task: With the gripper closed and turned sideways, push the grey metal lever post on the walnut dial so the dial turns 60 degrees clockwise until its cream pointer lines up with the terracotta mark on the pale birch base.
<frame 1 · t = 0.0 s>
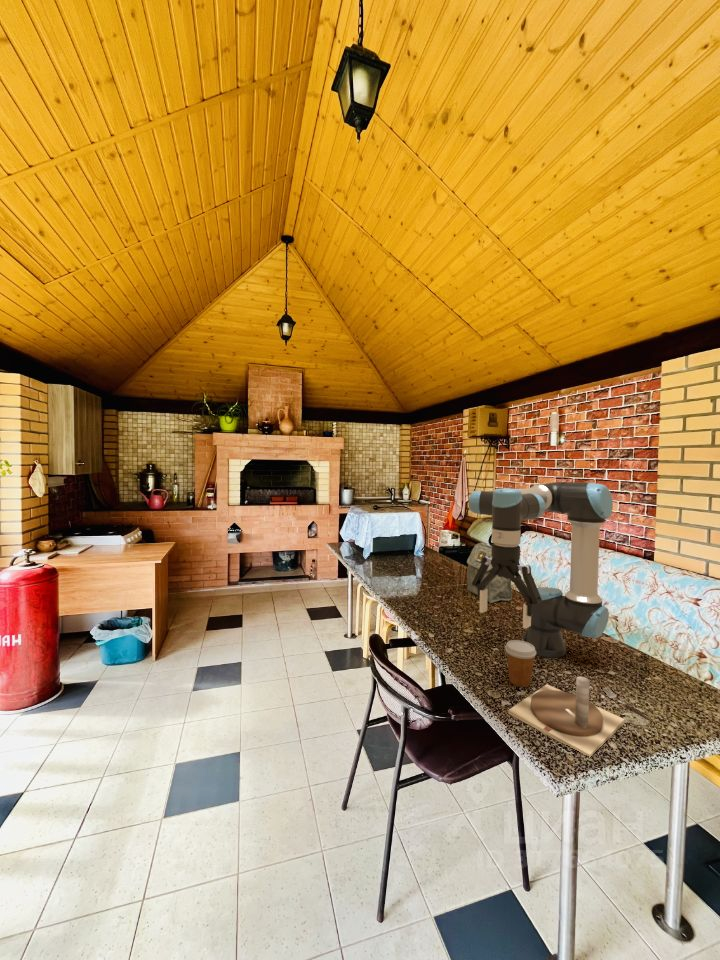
hand: (504, 619, 113), 28 cm above the table, tool pointing down, fingers open, 13 cm apart
dial: (566, 690, 113), point 8 cm above the table, hinge at 60.0°
disposable coffee cup: (519, 682, 132), on the table
bag: (487, 596, 215), on the table
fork: (628, 708, 118), on the table
dial base: (565, 718, 113), on the table
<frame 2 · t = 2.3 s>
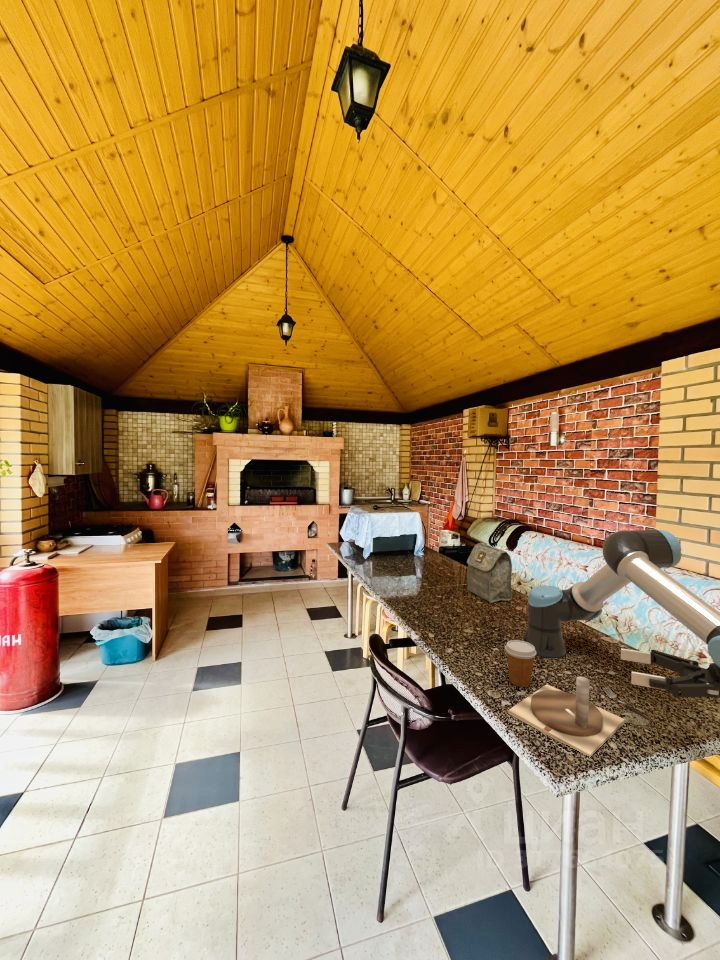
hand: (625, 665, 102), 21 cm above the table, tool horizontal, fingers open, 13 cm apart
nothing on the table moved.
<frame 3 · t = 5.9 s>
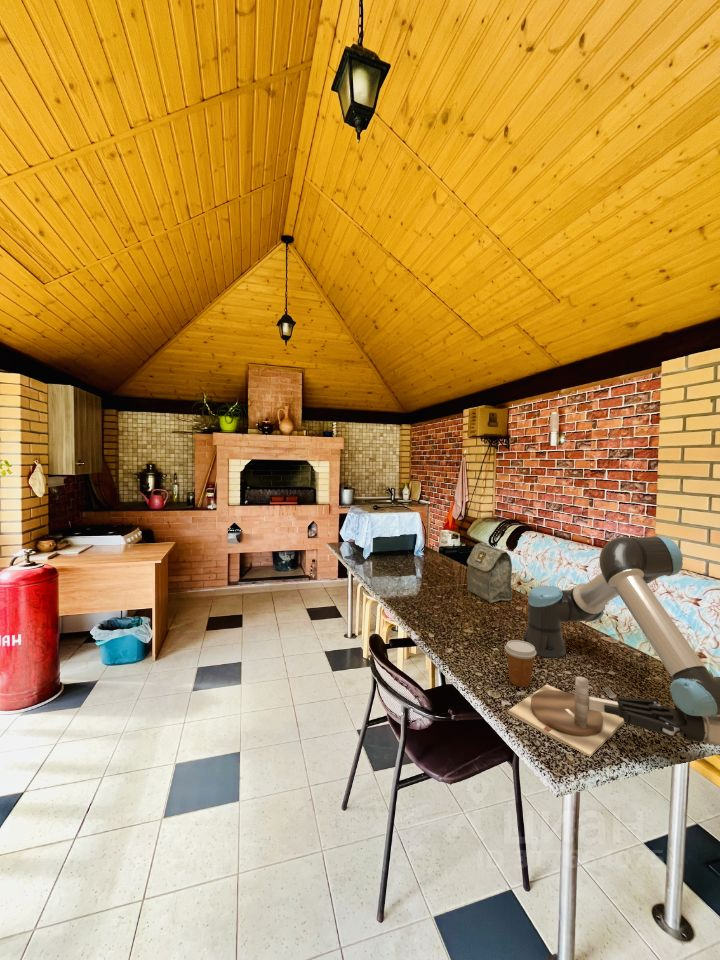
hand: (588, 702, 105), 9 cm above the table, tool horizontal, fingers closed
dial: (566, 690, 113), point 8 cm above the table, hinge at 57.7°, touching gripper
everything else where it was.
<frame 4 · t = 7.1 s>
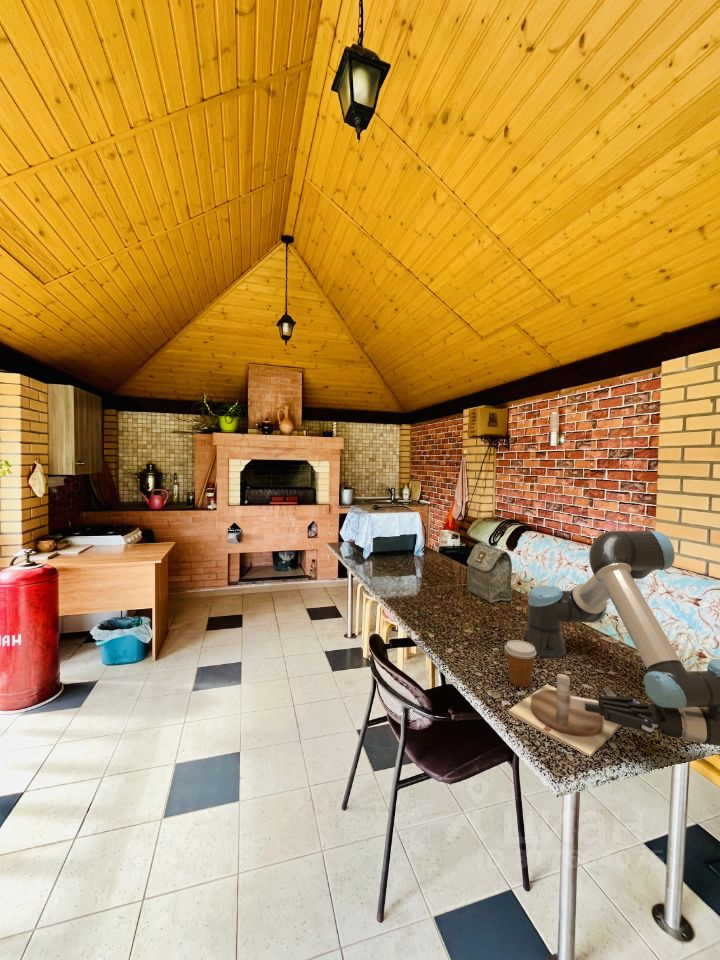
hand: (570, 701, 106), 9 cm above the table, tool horizontal, fingers closed
dial: (566, 690, 113), point 8 cm above the table, hinge at 17.0°, touching gripper
everything else where it was.
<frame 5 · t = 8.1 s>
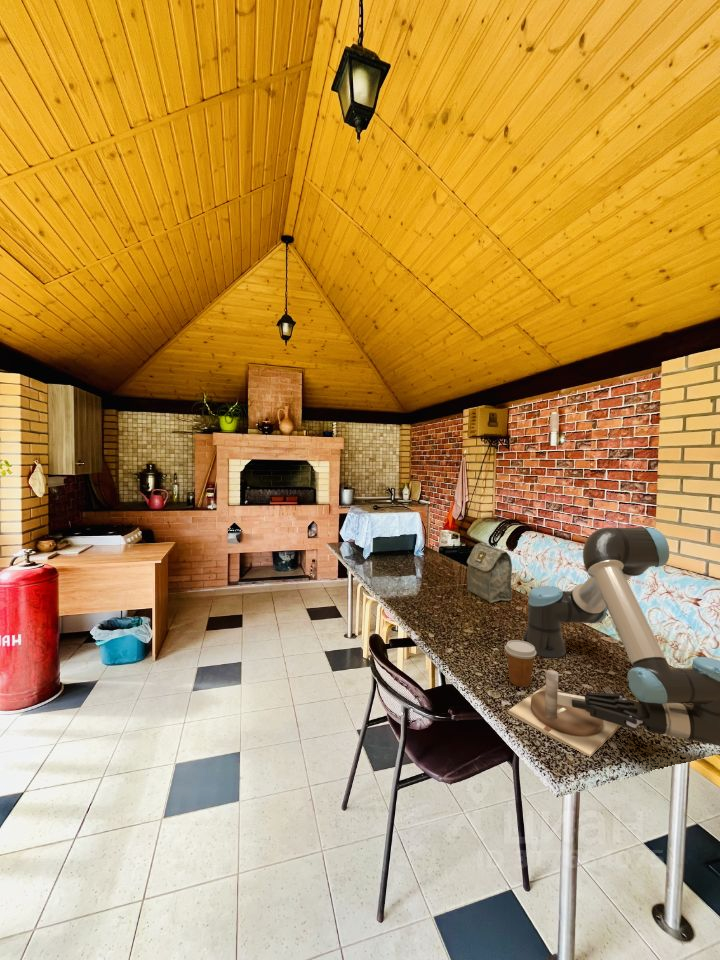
hand: (557, 697, 108), 9 cm above the table, tool horizontal, fingers closed
dial: (566, 690, 113), point 8 cm above the table, hinge at -8.8°, touching gripper
everything else where it was.
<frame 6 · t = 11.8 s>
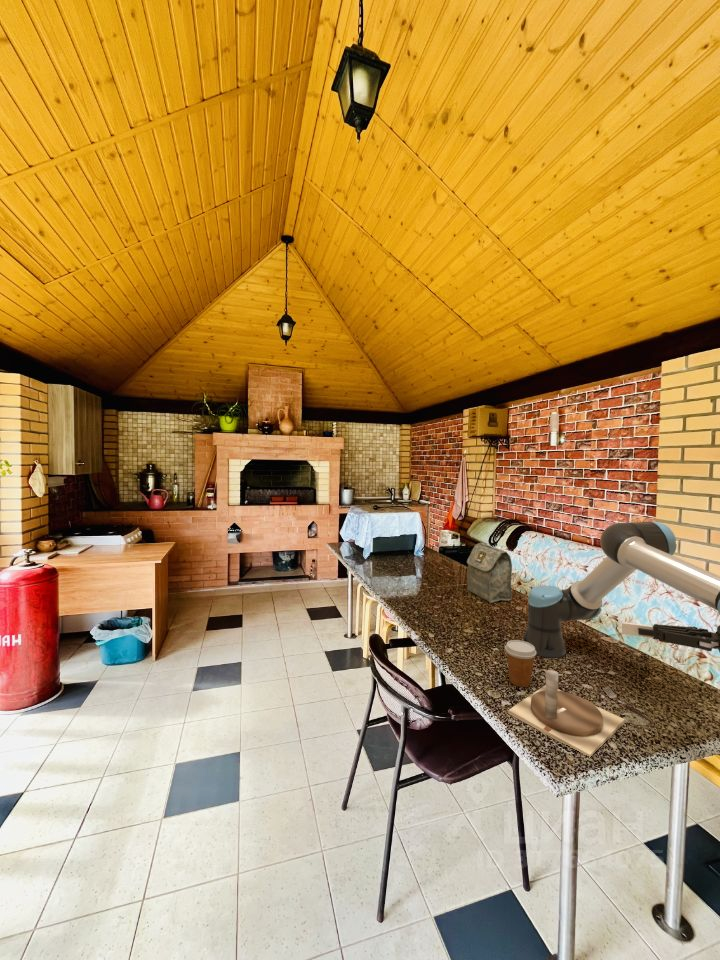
hand: (622, 627, 105), 29 cm above the table, tool horizontal, fingers closed
dial: (566, 690, 113), point 8 cm above the table, hinge at -8.9°
everything else where it was.
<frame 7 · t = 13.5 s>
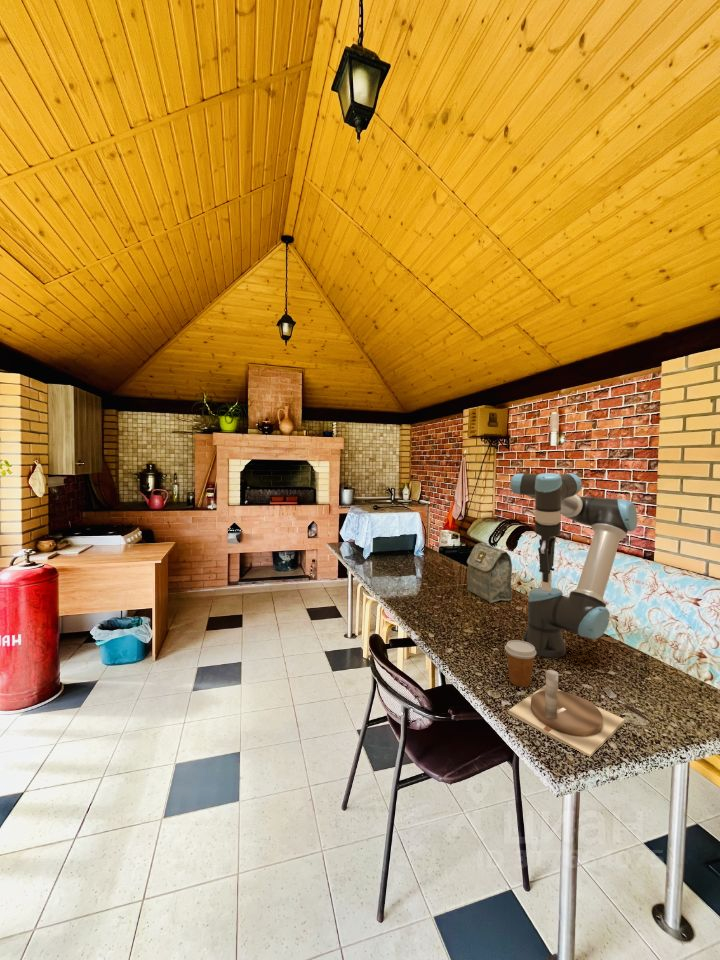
hand: (546, 589, 133), 30 cm above the table, tool pointing down, fingers closed
nothing on the table moved.
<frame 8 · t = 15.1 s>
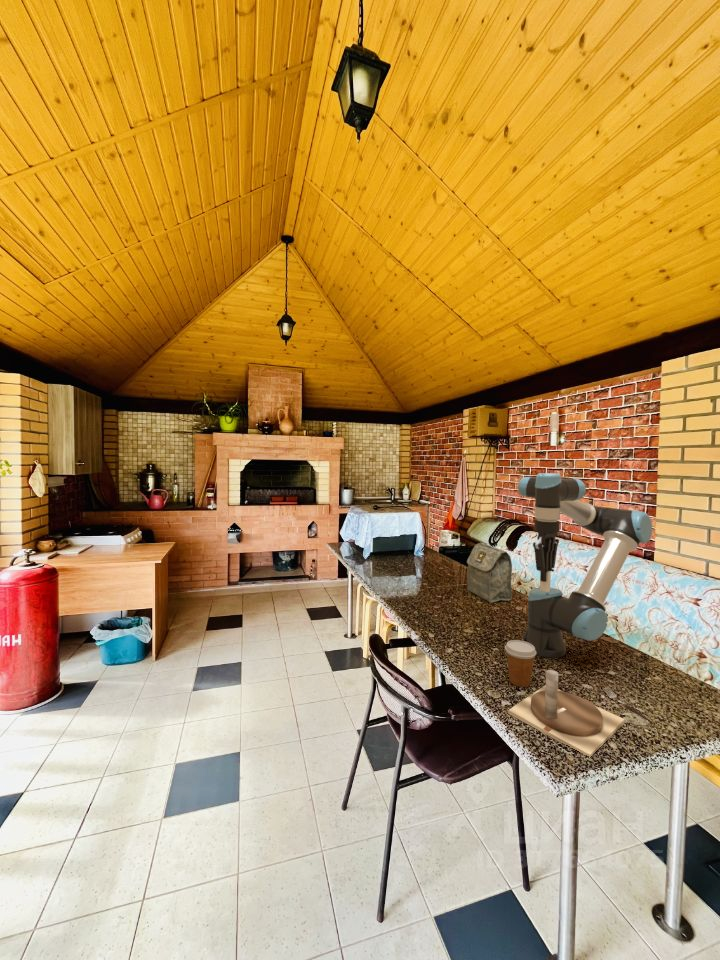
hand: (544, 590, 133), 29 cm above the table, tool pointing down, fingers closed
nothing on the table moved.
at the end: dial at -9° (first picture: +60°); disposable coffee cup moved 0.2 cm from its start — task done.
